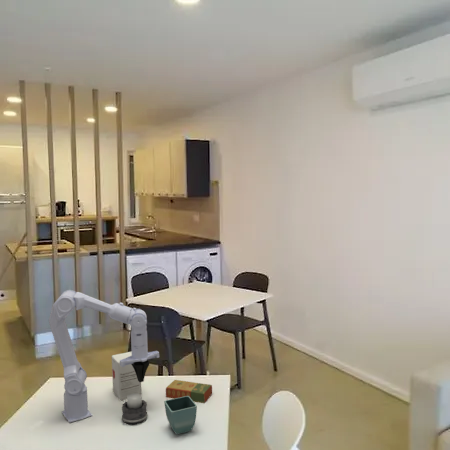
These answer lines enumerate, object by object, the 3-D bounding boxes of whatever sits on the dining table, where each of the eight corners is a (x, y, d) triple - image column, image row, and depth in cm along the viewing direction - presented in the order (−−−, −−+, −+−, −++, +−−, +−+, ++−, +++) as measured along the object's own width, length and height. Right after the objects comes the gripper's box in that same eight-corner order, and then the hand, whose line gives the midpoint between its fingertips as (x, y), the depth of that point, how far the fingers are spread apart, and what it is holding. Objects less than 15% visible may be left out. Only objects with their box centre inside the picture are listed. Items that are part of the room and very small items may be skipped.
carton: (175, 389, 180) (174, 378, 179) (212, 394, 174) (212, 383, 174) (165, 398, 172) (165, 387, 171) (204, 404, 166) (204, 393, 166)
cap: (125, 407, 156) (124, 396, 156) (138, 402, 159) (137, 391, 159) (131, 412, 152) (130, 401, 152) (144, 408, 155) (144, 397, 155)
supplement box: (112, 392, 177) (110, 355, 176) (134, 386, 182) (132, 350, 181) (119, 401, 169) (117, 362, 168) (142, 395, 174) (140, 357, 173)
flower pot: (164, 426, 151) (163, 400, 150) (189, 420, 154) (188, 395, 153) (172, 439, 143) (171, 412, 142) (198, 432, 146) (197, 406, 145)
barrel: (118, 417, 157) (117, 403, 157) (140, 410, 162) (140, 396, 162) (128, 427, 150) (128, 413, 150) (151, 419, 155) (151, 405, 155)
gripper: (125, 351, 154) (126, 390, 155) (162, 342, 162) (163, 379, 163) (116, 346, 159) (118, 383, 160) (153, 337, 168) (154, 373, 169)
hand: (140, 381), depth 162 cm, fingers closed
